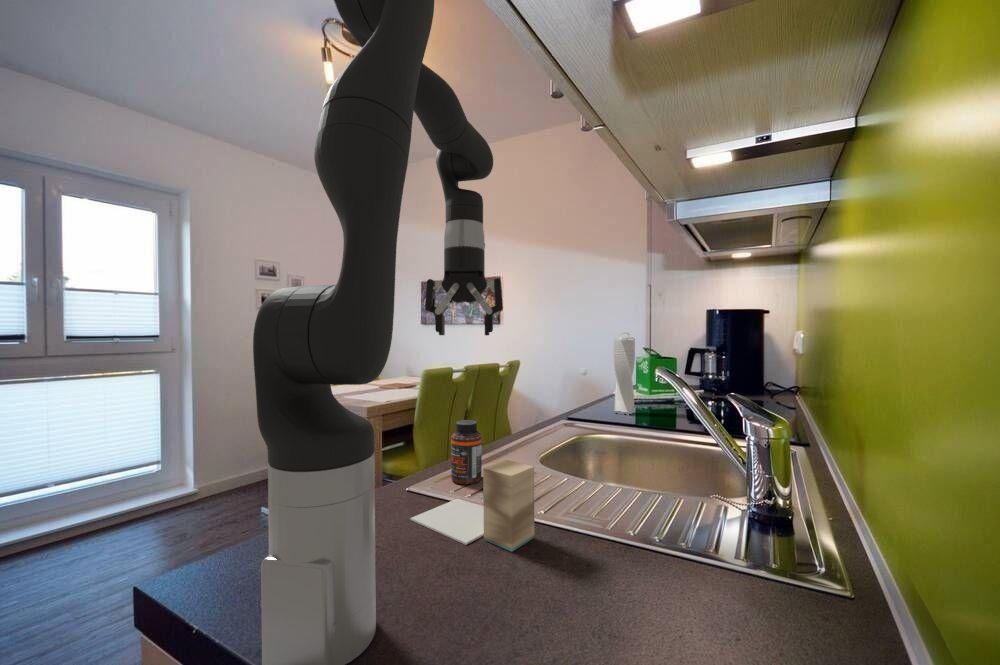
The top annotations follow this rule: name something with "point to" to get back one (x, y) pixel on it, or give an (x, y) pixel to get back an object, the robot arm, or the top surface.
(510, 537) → the beech block
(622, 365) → the skyscraper
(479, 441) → the supplement bottle
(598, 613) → the top surface
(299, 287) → the robot arm
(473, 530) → the grey mat
